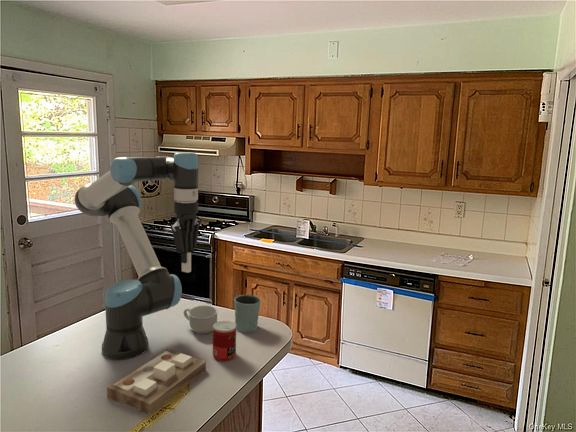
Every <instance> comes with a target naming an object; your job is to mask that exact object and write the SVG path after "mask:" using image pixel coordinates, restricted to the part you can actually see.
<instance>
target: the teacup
mask: <svg viewBox="0 0 576 432" xmlns="http://www.w3.org/2000/svg"><path fill="white" fill-rule="evenodd" d="M183 316H184V318H186V320H187V321H188V322H189V327H190V329H191V330H192V331H193V332H194V333H197V334H202V335H203V334H204V335H205V334H208V333H211V332H213V325H214V324H215V323H216V322H218V309H217V308H216V307H215V306H212V305H207V304H205V305H197V306H194V307H192V308H190V307H186V308H185V309H184V310H183Z"/></svg>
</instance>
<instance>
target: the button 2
mask: <svg viewBox="0 0 576 432" xmlns="http://www.w3.org/2000/svg"><path fill="white" fill-rule="evenodd" d="M179 353H180V354H179V355H177V356H176V357H174V358H173V359H172V363H173V364H175V366H176V367H179V368H182V369H184V368H185V367H186V366H188V365H189V364H190V363H192V357H193V356H191V355H189V354H188V355H187V354H185V353H181V352H179Z"/></svg>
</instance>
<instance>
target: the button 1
mask: <svg viewBox="0 0 576 432" xmlns="http://www.w3.org/2000/svg"><path fill="white" fill-rule="evenodd" d="M156 388H157V382H156V381H153V380H150V379H147V378H143V379H142V380H141V381H139V382H138V383H136V384H135V385H133V390H134V392H135V393H138V394H141V395H143V396H147V395H148V394H150V393H151V392H152V391H154V390H155V389H156Z"/></svg>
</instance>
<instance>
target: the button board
mask: <svg viewBox="0 0 576 432" xmlns="http://www.w3.org/2000/svg"><path fill="white" fill-rule="evenodd" d="M180 353H181V352H178V351H174V350H172V349H167V348H166V349H164V350H163V351H161V352H160V353H157V354H156V355H155V356H154V357H152V358H150V359H148V360H147V361H146V362H143V364H141V365H139V366H137V367H136V368H135V369H133V370H131V371H130V372H128V373H127V374H125V375H123V376H122V377H121V378H118V379H117V380H115V381H114V382H112V383H111V384H109V385H108V386H107V387H106V397H107V398H109V399H112V400H114V401H117V402H119V403H121V404H124V405H127V406H129V407H132V408H135V409H136V410H138V411H141V412H144V413H146V414H149V415H152V414H153V413H154V412H156V410H158V409H159V408H160V407H161V406H163V405H164V404H165V403H166V402H168V401H169V400H170V399H171V398H173V396H175V395H176V394H178V393H179V392H180V391H181V390H183V389H184V388H185V387H186V386H188V385H189V384H190V383H192V382H193V381H194V380H195V379H196V378H198V377H199V376H200V375H201V374H203V373H204V372H205V371H207V361H206V360H204V359H203V360H202V359H199V358H196V357H194V356H191V357H192V363H190V364H189V365H188V366H186V367H185V368H184V369H182V368H179V367H176V366H175V375H174V376H173V377H171V378H170V379H169V380H167V381H166V382H165V381H162V380H159V379H156V378H154V368H153V367H154V366H156V365H157V364H159V363H160V362H162V361H163V360H164V361H167V362H170V363H172V359H173V358H174V357H176V356H177V355H179V354H180ZM202 372H203V373H202ZM143 378H147V379H150V380H153V381H156V382H157V388H156V389H155V390H154V391H152V392H151V393H150V394H148V395H147V396H143V395H141V394H138V393H135V392H134V390H133V385H135V384H136V383H138V382H139V381H141V380H142V379H143Z"/></svg>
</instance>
